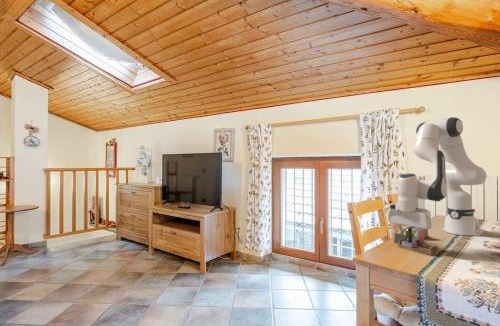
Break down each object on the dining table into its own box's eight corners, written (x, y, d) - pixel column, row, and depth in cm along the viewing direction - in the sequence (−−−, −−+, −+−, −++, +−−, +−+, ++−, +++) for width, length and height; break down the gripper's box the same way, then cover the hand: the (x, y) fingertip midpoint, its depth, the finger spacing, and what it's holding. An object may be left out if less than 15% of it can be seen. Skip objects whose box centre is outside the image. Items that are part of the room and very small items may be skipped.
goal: (407, 239, 153) (406, 222, 153) (420, 242, 146) (420, 225, 146) (393, 242, 147) (393, 225, 147) (407, 245, 141) (406, 228, 141)
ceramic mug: (420, 240, 150) (420, 225, 150) (406, 236, 157) (406, 223, 157) (432, 237, 154) (432, 224, 155) (418, 234, 162) (418, 221, 162)
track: (404, 245, 142) (404, 238, 142) (437, 253, 128) (437, 246, 128) (398, 247, 139) (397, 239, 139) (431, 255, 125) (431, 247, 125)
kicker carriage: (417, 241, 144) (416, 224, 144) (427, 243, 140) (426, 226, 140) (401, 245, 138) (401, 228, 138) (411, 247, 133) (411, 230, 133)
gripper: (434, 208, 129) (434, 238, 129) (393, 203, 147) (393, 229, 147) (426, 210, 126) (427, 240, 126) (385, 204, 144) (386, 231, 144)
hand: (408, 234), depth 137 cm, fingers open, 6 cm apart
